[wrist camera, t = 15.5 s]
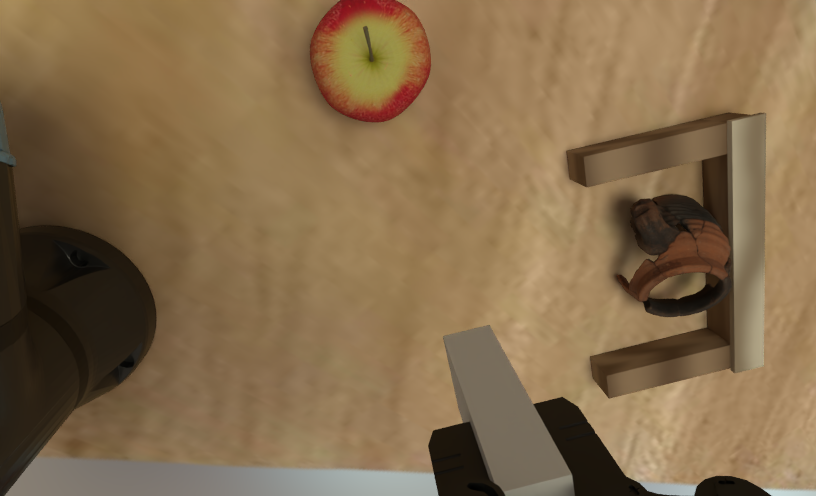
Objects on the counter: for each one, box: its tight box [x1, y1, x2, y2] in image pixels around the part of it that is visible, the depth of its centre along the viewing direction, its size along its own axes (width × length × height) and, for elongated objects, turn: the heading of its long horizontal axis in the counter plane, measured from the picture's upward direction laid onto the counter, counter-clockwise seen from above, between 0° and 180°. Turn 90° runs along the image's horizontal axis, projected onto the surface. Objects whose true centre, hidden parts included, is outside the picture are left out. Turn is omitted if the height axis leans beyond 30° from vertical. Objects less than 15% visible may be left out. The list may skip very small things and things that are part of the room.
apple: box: [310, 0, 431, 122], centre depth 37 cm, size 8×8×10 cm
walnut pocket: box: [567, 113, 766, 398], centre depth 47 cm, size 15×23×4 cm, turn 12°
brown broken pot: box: [617, 195, 732, 317], centre depth 46 cm, size 12×10×8 cm
